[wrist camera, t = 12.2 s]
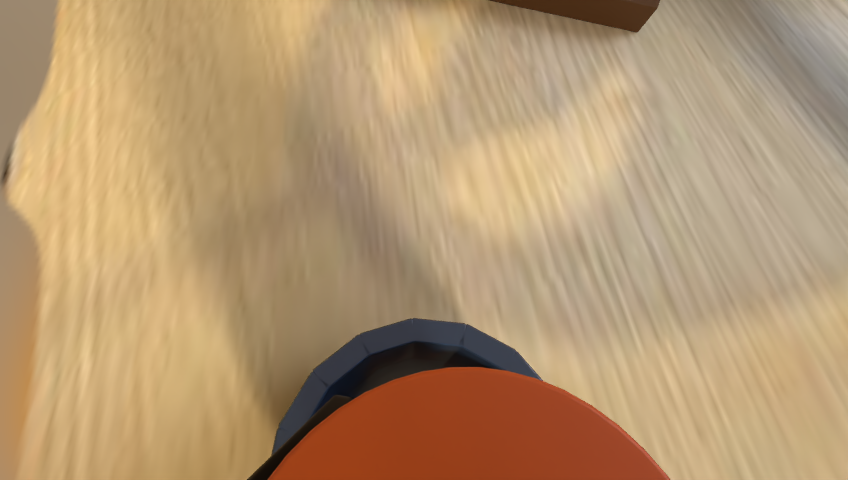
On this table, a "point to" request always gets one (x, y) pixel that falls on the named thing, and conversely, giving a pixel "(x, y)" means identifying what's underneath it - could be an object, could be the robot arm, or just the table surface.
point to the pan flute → (596, 10)
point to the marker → (467, 434)
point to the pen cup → (396, 363)
